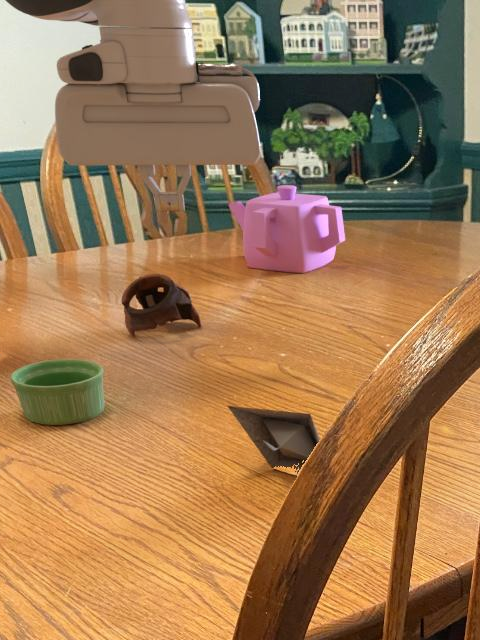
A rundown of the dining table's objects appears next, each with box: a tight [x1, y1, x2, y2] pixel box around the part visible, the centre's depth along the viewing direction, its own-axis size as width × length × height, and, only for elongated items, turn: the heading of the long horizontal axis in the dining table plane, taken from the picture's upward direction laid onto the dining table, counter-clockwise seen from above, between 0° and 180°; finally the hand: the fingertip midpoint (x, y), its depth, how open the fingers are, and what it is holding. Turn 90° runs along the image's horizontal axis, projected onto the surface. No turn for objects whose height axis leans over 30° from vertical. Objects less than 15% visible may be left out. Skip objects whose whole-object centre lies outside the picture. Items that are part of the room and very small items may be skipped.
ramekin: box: [9, 358, 106, 426], centre depth 95 cm, size 9×9×4 cm
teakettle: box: [227, 184, 346, 274], centre depth 154 cm, size 17×17×12 cm
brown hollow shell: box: [121, 273, 202, 338], centre depth 121 cm, size 12×10×8 cm
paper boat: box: [227, 405, 321, 477], centre depth 83 cm, size 12×6×9 cm
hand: (171, 210), depth 98 cm, fingers closed
